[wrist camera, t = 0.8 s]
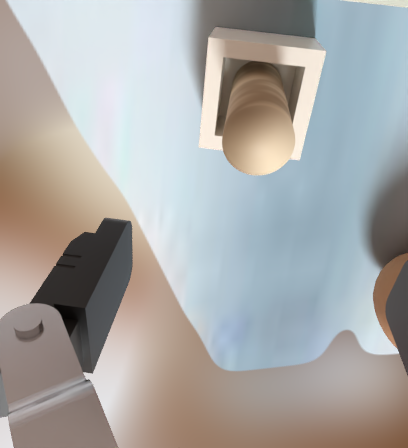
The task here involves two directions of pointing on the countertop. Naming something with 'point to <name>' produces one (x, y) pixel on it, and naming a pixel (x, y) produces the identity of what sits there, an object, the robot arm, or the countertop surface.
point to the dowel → (258, 121)
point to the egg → (387, 291)
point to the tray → (385, 2)
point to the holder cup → (264, 52)
